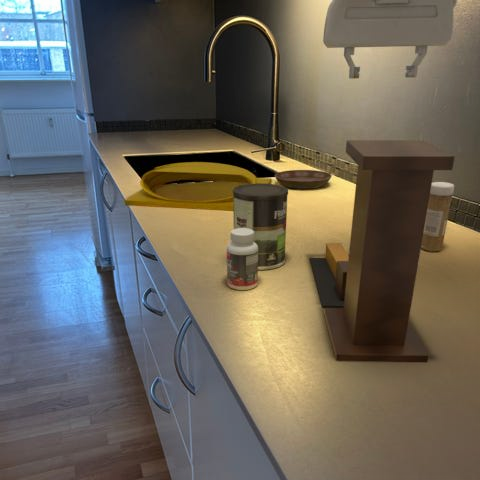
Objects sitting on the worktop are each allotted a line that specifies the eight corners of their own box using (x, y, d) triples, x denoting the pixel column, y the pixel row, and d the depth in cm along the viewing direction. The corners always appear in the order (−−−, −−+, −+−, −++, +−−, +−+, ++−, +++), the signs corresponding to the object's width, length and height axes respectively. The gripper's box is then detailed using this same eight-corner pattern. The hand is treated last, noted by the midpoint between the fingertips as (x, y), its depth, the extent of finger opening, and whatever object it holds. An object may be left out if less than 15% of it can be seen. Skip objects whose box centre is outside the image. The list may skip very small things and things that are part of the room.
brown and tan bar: (345, 257, 101) (347, 233, 99) (370, 300, 83) (374, 271, 81) (319, 257, 101) (321, 233, 99) (340, 300, 83) (343, 272, 81)
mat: (370, 259, 101) (370, 258, 101) (397, 308, 81) (398, 306, 81) (309, 259, 101) (309, 257, 101) (322, 307, 82) (322, 305, 82)
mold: (167, 178, 169) (165, 149, 165) (271, 182, 163) (272, 152, 159) (125, 205, 139) (121, 170, 135) (250, 211, 132) (251, 175, 128)
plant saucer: (262, 184, 161) (262, 174, 160) (299, 176, 172) (300, 166, 170) (305, 193, 149) (306, 183, 148) (342, 184, 160) (343, 174, 159)
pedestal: (400, 314, 80) (428, 139, 68) (427, 362, 67) (467, 158, 55) (323, 313, 80) (337, 139, 68) (336, 360, 68) (356, 157, 56)
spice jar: (447, 250, 106) (459, 184, 100) (430, 253, 104) (442, 187, 98) (431, 243, 110) (442, 180, 103) (414, 246, 108) (425, 182, 102)
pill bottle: (220, 285, 90) (219, 231, 85) (241, 276, 94) (241, 224, 89) (243, 293, 87) (244, 238, 82) (263, 284, 90) (265, 230, 86)
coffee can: (291, 255, 103) (294, 185, 97) (276, 273, 95) (279, 197, 88) (243, 249, 107) (243, 181, 100) (225, 266, 98) (224, 192, 92)
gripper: (453, -20, 82) (439, 76, 88) (324, -16, 83) (320, 78, 89) (467, -26, 76) (451, 77, 82) (329, -22, 77) (323, 79, 83)
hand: (382, 78), depth 86 cm, fingers open, 8 cm apart
